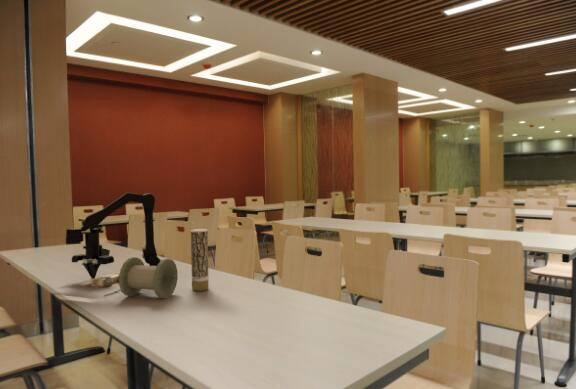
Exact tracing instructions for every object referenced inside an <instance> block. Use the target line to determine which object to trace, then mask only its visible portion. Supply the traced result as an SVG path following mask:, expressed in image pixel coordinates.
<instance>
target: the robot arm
mask: <svg viewBox="0 0 576 389" xmlns="http://www.w3.org/2000/svg"><path fill="white" fill-rule="evenodd" d="M130 202H132V203H139V204H141V206H142V210H143V214H144V234H145V235H144V237H145V238H144V239H145V244H144V247H143V246H142V247H141V250H142V254H141V256H142V259H143V260H144V262H145V263H146V264H148V266H157V265H158V264H159V263H160V261H161V260H162V259H161V258H159V257H158V252H157V250H156V246H155V230H154V210H155V205H156V198H155V196H154V195H153V194H151V193H144V194H138V193H132V192H125V193H124V194H123V195H121V196H120V197H119V198H117V199H115V200H114V201H113V202H111V203H110V204H108V205H107V206H105V207H104V208H102V209H100V210H98V211H95V212H93V213H91V214H89V215H87V216H86V217H85V219H84V223H83V225H82V226H81V227H80V228H67V229H66V233H65V244H66V245H65V246H68V245H69V246H70V245H81V244H82V242H85V243H84V244H85V245H84V246H82V249H84V251H85V254H84V253H80V254H75V255H73V256H72V257H71V263H78V262H80V261H82V263H81V265H82V266H83V267H84V269H85V270H86V271H87V273H88V275H89V277H90V278H91V279H94V278H96V276H97V273H98V270H99V268H100V266H101V265H108V264H112V263H115V257H114V256H113V255H110V252H111V250H110V249H107V248H103V245H102V244H100V234H103V233H104V229H102V228H101V227H100V226H99V225H100V224H101V223H102V222H103V221H104V220H106V218H108V216H110V215H111V214H112V213H114V212H116V211H117V210H118V209H120V208H122V207H124V205H127V204H128V203H130ZM98 226H99V227H98ZM88 230H90V231H88Z"/></svg>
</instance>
